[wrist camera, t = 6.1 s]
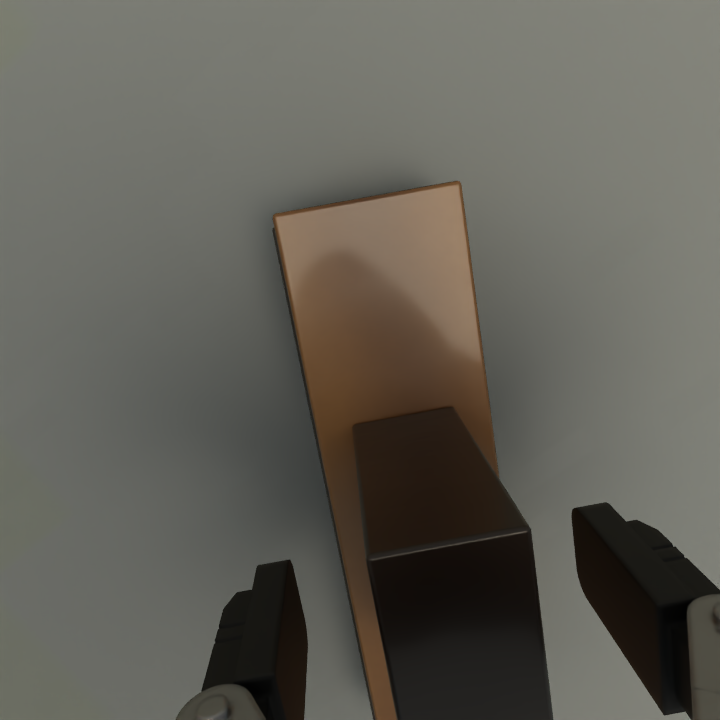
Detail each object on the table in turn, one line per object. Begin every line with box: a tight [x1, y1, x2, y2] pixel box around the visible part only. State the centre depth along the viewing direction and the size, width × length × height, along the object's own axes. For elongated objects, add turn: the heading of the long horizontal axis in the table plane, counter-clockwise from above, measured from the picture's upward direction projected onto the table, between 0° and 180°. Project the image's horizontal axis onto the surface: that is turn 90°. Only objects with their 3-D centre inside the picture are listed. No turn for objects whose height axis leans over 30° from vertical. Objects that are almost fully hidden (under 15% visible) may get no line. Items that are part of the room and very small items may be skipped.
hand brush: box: [273, 181, 553, 720], centre depth 15 cm, size 5×17×10 cm, turn 10°
